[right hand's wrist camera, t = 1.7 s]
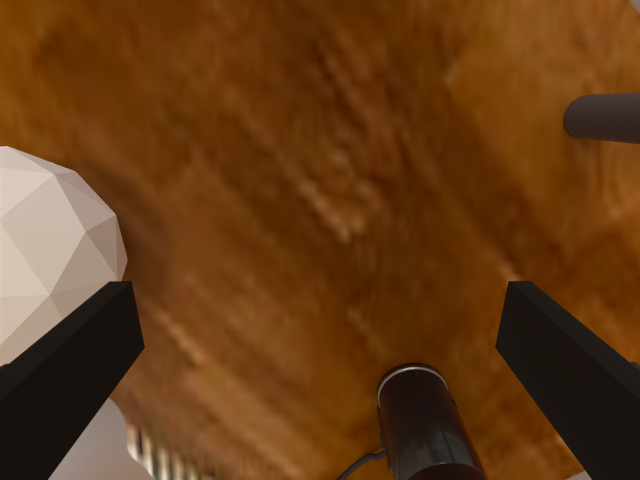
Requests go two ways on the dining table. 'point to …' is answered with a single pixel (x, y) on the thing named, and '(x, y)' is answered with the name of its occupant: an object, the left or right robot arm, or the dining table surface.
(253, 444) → the dining table surface
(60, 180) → the sphere
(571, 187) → the dining table surface
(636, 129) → the dark grey cylinder
